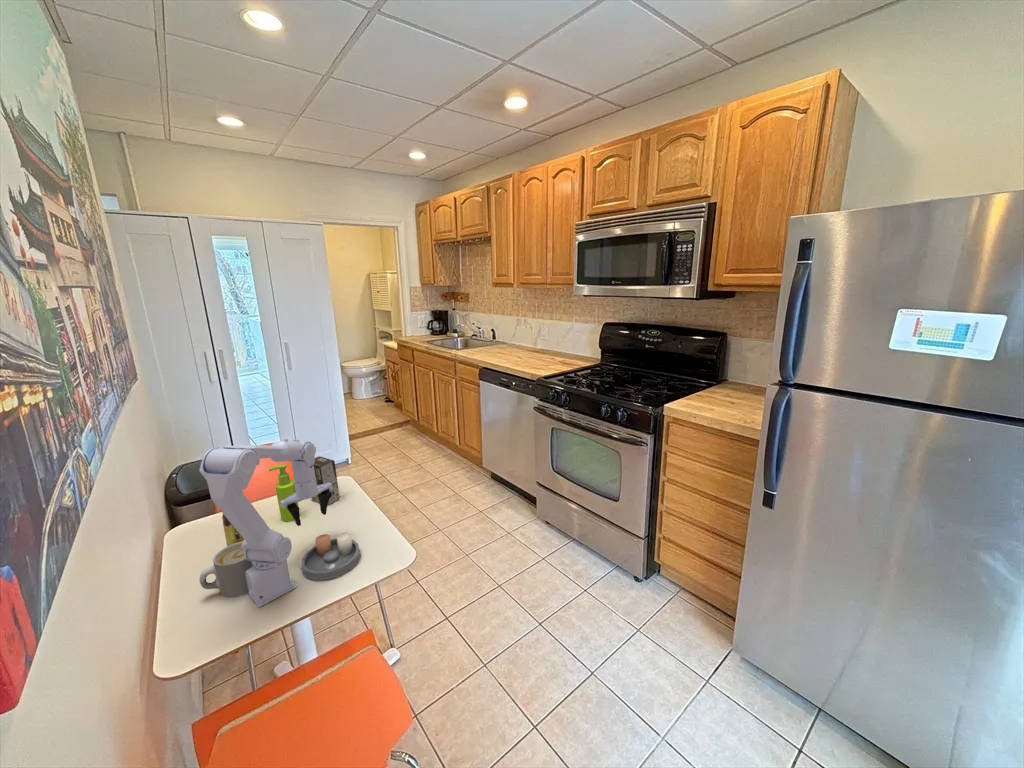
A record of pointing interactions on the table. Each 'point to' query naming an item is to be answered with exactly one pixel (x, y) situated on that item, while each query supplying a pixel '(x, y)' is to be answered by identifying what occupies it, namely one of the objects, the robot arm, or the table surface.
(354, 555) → the groove tray
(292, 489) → the soap dispenser
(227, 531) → the sauce bottle
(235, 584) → the coffee mug
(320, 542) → the terracotta bead
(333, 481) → the coffee box
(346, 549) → the cream bead
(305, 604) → the table surface
